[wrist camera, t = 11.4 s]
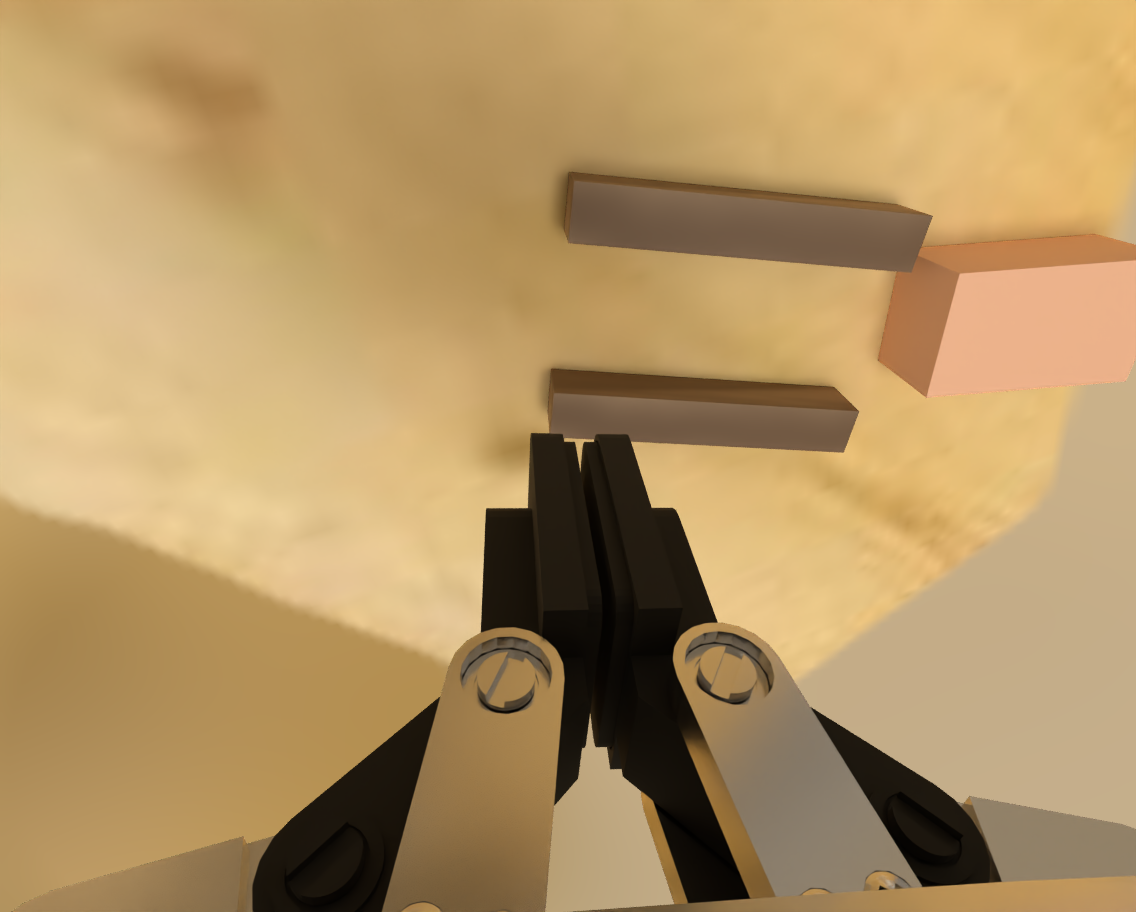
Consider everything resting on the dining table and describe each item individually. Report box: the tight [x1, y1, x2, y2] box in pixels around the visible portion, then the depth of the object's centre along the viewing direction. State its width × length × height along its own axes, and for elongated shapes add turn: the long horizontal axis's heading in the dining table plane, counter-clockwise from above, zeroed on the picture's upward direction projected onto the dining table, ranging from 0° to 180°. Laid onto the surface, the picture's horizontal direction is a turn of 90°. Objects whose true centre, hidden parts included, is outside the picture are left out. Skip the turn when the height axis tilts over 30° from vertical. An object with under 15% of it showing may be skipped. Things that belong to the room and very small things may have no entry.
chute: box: [548, 172, 933, 453], centre depth 31 cm, size 12×16×3 cm
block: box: [878, 234, 1136, 398], centre depth 31 cm, size 6×10×5 cm, turn 93°
